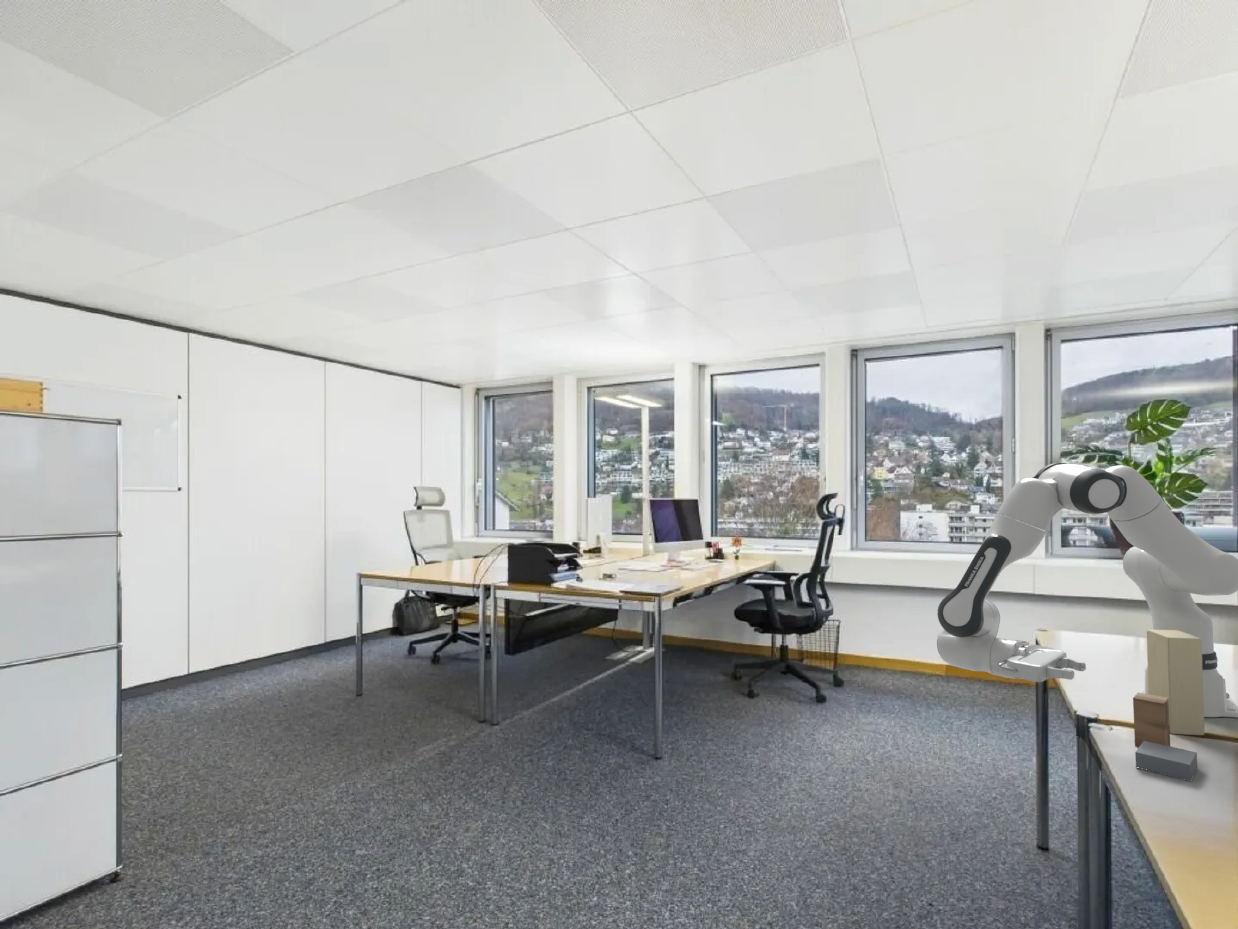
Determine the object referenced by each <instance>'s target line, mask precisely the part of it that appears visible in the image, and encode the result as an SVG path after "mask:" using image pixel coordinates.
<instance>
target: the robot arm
mask: <svg viewBox="0 0 1238 929" xmlns="http://www.w3.org/2000/svg"><path fill="white" fill-rule="evenodd" d="M1001 503H1002V504H1001V505H1000V507H999V509H998V511H997V513H996V515H995V517H994V518H993V522H992V523H991V526H990V528H989V529H988V532H987V534H986V536H985V538H984V540H983V541H982V544H981V545H980V547H979V548H978V550H977V552H976V553H975V555H974V557H973V559H972V560H971V562H970V563H969V566H968V567H967V568H966V570H965V573H964V574H963V576H962V578H961V580H960V581H959V582H958V584H957V586H956V588H954V589H953V591H951V592H950V593H948V594H947V595H946V596H945V597H944V598H943V599H942V600H941V601H940V602H939V605H938V608H937V620H938V622H939V624H940V626H941V628H942V631H940V633H939V634H937V640H936V646H937V648H936V649H937V652H938V654H939V657H940V658H941V659H942V661H943V662H945V663H947V664H949V665H950V666H953V667H956V668H960V669H963V670H969V671H973V672H986V673H989V674H990V675H993V676H998V677H1003V678H1008V679H1013V680H1019V679H1021V680H1025V681H1029V682H1034V683H1042V682H1044V681H1046V680H1049V679H1063V680H1064V679H1065V680H1070V681H1071V680H1073V679H1075V671H1077V672H1078V671H1079V672H1084V671H1086V669H1087V667H1086V665H1087V664H1086V662H1084V661H1078V660H1074V659H1072V658H1069V657H1067V652H1065V651H1063V650H1060V649H1057V648H1052V647H1049V646H1048V647H1047V646H1043V645H1038V644H1032V643H1031V644H1030V642H1029V641H1028V640H1021V639H1018V640H1014V639H1006V638H1000V637H997V635H998V632H999V627H1000V621H1001V615H1000V611H999V610H998V608H997V606H996V605H995V604H994V603H993V602H991V600H989V599H987V597H988V595H989V593H990V592H991V590H992V588H993V587H994V585H995V583H996V581H997V579H998V578H999V576H1000V574H1001V573H1002V571H1003V570H1004V569H1005V568H1006V567H1007V566H1009V565H1010V564H1013V563H1015V562H1016V561H1019V560H1022V559H1025V558H1027V557H1029V556H1031V555H1032V554H1033V553H1034V551H1036V549H1037V548H1038V547H1039V545H1040V544H1041V542H1043V540H1044V537H1045V535H1046V534H1047V531H1048V529H1049V527H1050V525H1051V522H1052V520H1053V518H1054V516H1056V514H1057V513H1059V512H1060V511H1061V510H1062V509H1066V510H1071V511H1074V512H1075V511H1077V512H1081V513H1085V514H1088V515H1089V514H1090V515H1101V514H1105V513H1106V514H1107V515H1108V516H1109V518H1110V519H1111V521H1112V522H1113V523H1114V525H1115V526H1116V527H1117V529H1118V530H1119V532H1120V533H1121V535H1122V536H1123V537H1124V539H1125V540H1126V541H1127V542H1128V543H1129V544H1130V545H1132V547H1130V548H1129V549H1128V550H1127V551H1126V552H1125V554H1124V556H1123V558H1122V567H1123V570H1124V573H1125V575H1126V576H1127V577H1128V578H1129V579H1130V580H1131V581H1132V582H1134V583H1135V584H1136V586H1137V587H1138V589H1139V590H1140V591H1141V593H1142V595H1143V596H1144V598H1145V601H1146V602H1147V606H1148V609H1149V611H1150V614H1151V622H1152V630H1178V631H1182V632H1184V633H1187V634H1190V635H1193V636H1195V637H1198V638H1200V639H1201V641H1202V673H1203V704H1204V718H1220V717H1225V718H1226V717H1227V718H1238V709H1237V706H1236V705H1235V703H1234V701H1233V699H1232V698H1231V697H1230V694H1229V692H1227V687H1226V686H1227V685H1226V684H1227V683H1226V679H1225V678H1224V676H1222V675H1221V674H1220V673H1219V671H1218V669H1217V668H1218V662H1219V661H1218V660H1219V659H1218V656H1217V653H1216V651H1215V649H1214V648H1215V646H1214V626H1213V620H1212V617H1210V616H1209V614H1208V613H1207V612H1205V610H1203V609H1201V608H1200V607H1199V606H1198V605H1197V604H1196V602H1195V601H1194V600H1193V597H1192V595H1191V594H1193V595H1200V596H1208V597H1209V596H1212V597H1213V596H1214V597H1215V596H1230V595H1232V594H1233V595H1234V594H1235V593H1236V592H1237V591H1238V558H1237V557H1236V556H1234V555H1233V554H1230V553H1227V552H1225V551H1223V550H1221V549H1219V548H1217V547H1216V546H1213V545H1211V544H1210V543H1208V542H1207V541H1206V540H1204V539H1203V538H1201V537H1200V536H1199V535H1197V534H1196V533H1194V532H1193V531H1192V530H1191V529H1189V528H1188V527H1187V526H1186V525H1185V524H1183V522H1182V521H1180V520H1179V519H1178V517H1177V516H1176V515H1175V514H1174V513H1173V511H1172V510H1171V509H1170V508H1169V506H1168V504H1167V503H1166V502H1165V501H1164V499H1163V498H1162V496H1161V495H1160V494H1159V492H1158V491H1157V490H1156V489H1155V487H1154V486H1152V484H1151V483H1150V482H1149V481H1148V480H1147V479H1146V478H1145V477H1144V476H1143V475H1142V474H1141V473H1140V472H1139V471H1137V470H1136V469H1134V467H1132V466H1128V465H1125V464H1124V465H1122V464H1121V465H1115V466H1113V465H1112V466H1110V467H1107V468H1105V469H1101V468H1095V467H1091V466H1088V465H1083V464H1071V463H1069V464H1068V463H1065V462H1057V463H1056V462H1054V463H1051V464H1047V465H1045V466H1043V467H1042V468H1041V469H1040V470H1039V471H1037V473H1036V474H1035V475H1034V476H1032V477H1026V478H1023V479H1020V480H1018V481H1017V482H1016V483H1015V485H1013V487H1012V488H1011V490H1010V491H1009V492H1008V494H1007V495H1006V497H1005V498H1004V500H1003V502H1001ZM1074 670H1075V671H1074ZM1140 693H1144V694H1148V665H1147V666H1145V667H1144V691H1141V692H1140Z"/></svg>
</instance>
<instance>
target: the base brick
mask: <svg viewBox="0 0 1238 929" xmlns="http://www.w3.org/2000/svg"><path fill="white" fill-rule="evenodd" d="M1197 753H1198V752H1196V751H1192V750H1187V749H1183V748H1178V747H1174V746H1171V745H1170V746H1166V745H1162V744H1157V743H1153V742H1148V741H1143V742H1142V744H1141V745H1140V746H1139V747H1137V749H1136V750H1135V752H1134V754H1135V768H1136V767H1139V768H1143V769H1145V770H1144V771H1147V770H1149V771H1148V772H1151V771H1153V772H1152V773H1155V772H1156V774H1159V773H1162V774H1161V775H1163V774H1165V775H1164V776H1167V775H1168V777H1171V776H1172V777H1171V778H1176V779H1180V780H1183V779H1185V780H1184V781H1187V780H1188V781H1187V782H1191V781H1192V780H1193V777H1194V776H1195V774H1196V772H1197V769H1198V754H1197ZM1139 768H1138V769H1139ZM1143 769H1142V770H1143ZM1146 769H1147V770H1146Z"/></svg>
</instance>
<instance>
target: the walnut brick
mask: <svg viewBox="0 0 1238 929" xmlns="http://www.w3.org/2000/svg"><path fill="white" fill-rule="evenodd" d="M1132 700H1133V701H1132V704H1133V706H1132V707H1133V724H1134V725H1133V729H1134V731H1133V732H1134V733H1133V734H1134V747H1136V746H1140V745H1141V744H1142V742H1143V741H1148V742H1153V743H1157V744H1162V745H1166V746H1171V733H1170V724H1169V700H1168V698H1166V697H1161V696H1155V695H1150V694H1144V693H1141V692H1137V693H1136V694H1135V695H1134V696H1133V697H1132Z"/></svg>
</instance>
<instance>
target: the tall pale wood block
mask: <svg viewBox="0 0 1238 929" xmlns="http://www.w3.org/2000/svg"><path fill="white" fill-rule="evenodd" d="M1146 645H1147V646H1146V653H1147V656H1146V657H1147V666H1148V694H1150V695H1155V696H1161V697H1166V698H1168V700H1169V724H1170V735H1171V734H1174V735H1188V736H1189V735H1191V736H1204V735H1205V717H1204V704H1203V673H1202V641H1201V639H1200V638H1198V637H1195V636H1193V635H1190V634H1187V633H1184V632H1182V631H1178V630H1153V629H1147V630H1146Z"/></svg>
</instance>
